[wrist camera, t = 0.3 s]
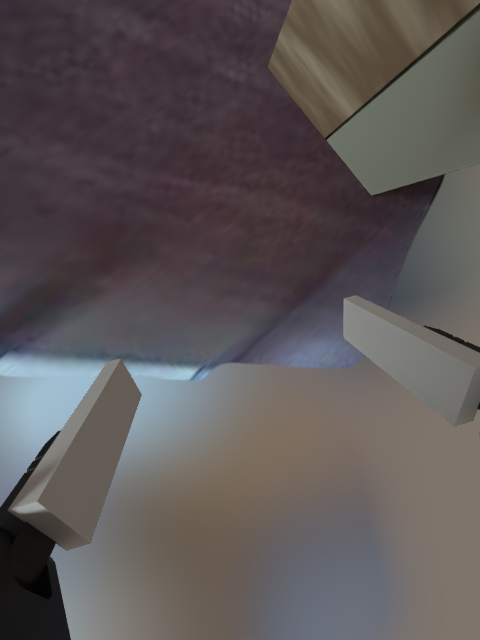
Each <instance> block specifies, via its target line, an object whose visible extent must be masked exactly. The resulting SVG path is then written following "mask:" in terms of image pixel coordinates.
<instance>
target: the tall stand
mask: <svg viewBox="0 0 480 640" xmlns="http://www.w3.org/2000/svg"><path fill="white" fill-rule="evenodd" d="M479 3H480V0H292V2H291V5H290V8H289V11H288V13H287V16H286V19H285V21H284V24H283V27H282V29H281V32H280V35H279V38H278V40H277V43H276V46H275V48H274V51H273V54H272V57H271V59H270V62H269V65H268V67H267V68H268V69H269V70H270V71H271V72H272V74H273V75H274V76H275V77H276V79H277V80H278V81H279V82H280V84H281V85H282V86H283V87H284V89H285V90H286V91H287V92H288V93H289V95H290V96H291V97H292V98H293V100H294V101H295V102H296V103H297V105H298V106H299V107H300V108H301V110H302V111H303V112H304V113H305V114H306V116H307V117H308V118H309V119H310V121H311V122H312V123H313V124H314V126H315V127H316V128H317V129H318V131H319V132H320V133H321V134H322V136H323V137H324V138H326V137H327V136H328V135H329V134H330V133H332V132H333V131H334V130H335V129H336V128H337V127H338V126H340V125H341V124H342V123H343V122H344V121H345V120H346V119H348V118H349V117H350V116H351V115H352V114H353V113H354V112H356V111H357V110H358V109H359V108H360V107H361V106H362V105H364V104H365V103H366V102H367V101H368V100H369V99H370V98H372V97H373V96H374V95H375V94H376V93H377V92H378V91H380V90H381V89H382V88H383V87H384V86H385V85H386V84H388V83H389V82H390V81H391V80H392V79H393V78H395V77H396V76H397V75H398V74H399V73H400V72H401V71H403V70H404V69H405V68H406V67H407V66H408V65H409V64H411V63H412V62H413V61H414V60H415V59H416V58H417V57H419V56H420V55H421V54H422V53H423V52H424V51H425V50H427V49H428V48H429V47H430V46H431V45H432V44H433V43H435V42H436V41H437V40H438V39H439V38H440V37H441V36H443V35H444V34H445V33H446V32H447V31H448V30H449V29H451V28H452V27H453V26H454V25H455V24H456V23H457V22H459V21H460V20H461V19H462V18H463V17H464V16H465V15H467V14H468V13H469V12H470V11H471V10H472V9H473V8H475V7H476V6H477V5H478V4H479Z"/></svg>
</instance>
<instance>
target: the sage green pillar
mask: <svg viewBox="0 0 480 640" xmlns="http://www.w3.org/2000/svg"><path fill="white" fill-rule="evenodd" d="M327 141H328V143H329V144H330V145H331V146H332V148H333V149H334V150H335V151H336V153H337V154H338V155H339V156H340V158H341V159H342V160H343V161H344V162H345V164H346V165H347V166H348V167H349V169H350V170H351V171H352V172H353V174H354V175H355V176H356V177H357V179H358V180H359V181H360V182H361V183H362V185H363V186H364V187H365V188H366V190H367V191H368V192H369V193H370V195H371V196H372V195H375V194H379V193H382V192H385V191H389V190H392V189H395V188H399V187H402V186H406V185H409V184H412V183H416V182H419V181H422V180H426V179H429V178H432V177H436V176H439V175H443V174H446V173H449V172H452V171H456V170H459V169H463V168H466V167H470V166H473V165H476V164H480V3H479V4H478V5H477V6H476V7H475V8H473V9H472V10H471V11H470V12H469V13H468V14H467V15H465V16H464V17H463V18H462V19H461V20H460V21H459V22H457V23H456V24H455V25H454V26H453V27H452V28H451V29H449V30H448V31H447V32H446V33H445V34H444V35H443V36H441V37H440V38H439V39H438V40H437V41H436V42H435V43H433V44H432V45H431V46H430V47H429V48H428V49H427V50H425V51H424V52H423V53H422V54H421V55H420V56H419V57H417V58H416V59H415V60H414V61H413V62H412V63H411V64H409V65H408V66H407V67H406V68H405V69H404V70H403V71H401V72H400V73H399V74H398V75H397V76H396V77H395V78H393V79H392V80H391V81H390V82H389V83H388V84H386V85H385V86H384V87H383V88H382V89H381V90H380V91H378V92H377V93H376V94H375V95H374V96H373V97H372V98H370V99H369V100H368V101H367V102H366V103H365V104H364V105H362V106H361V107H360V108H359V109H358V110H357V111H356V112H354V113H353V114H352V115H351V116H350V117H349V118H348V119H346V120H345V121H344V122H343V123H342V124H341V125H340V126H338V127H337V128H336V129H335V130H334V131H333V132H332V134H331V135H330V136H329V138H328V139H327Z"/></svg>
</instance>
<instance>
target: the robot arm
mask: <svg viewBox="0 0 480 640" xmlns="http://www.w3.org/2000/svg"><path fill="white" fill-rule="evenodd" d="M343 338H344V339H346V340H347V341H348V342H349V343H351V344H352V345H353V346H354V347H356V348H357V349H358V350H359V351H361V352H362V353H363V354H364V355H365V356H367V357H368V358H369V359H370V360H372V361H373V362H374V363H376V364H377V365H378V366H379V367H380V368H382V369H383V370H384V371H385V372H387V373H388V374H389V375H390V376H392V377H393V378H394V379H395V380H396V381H398V382H399V383H400V384H401V385H403V386H404V387H405V388H406V389H408V390H409V391H410V392H411V393H413V394H414V395H415V396H416V397H418V398H419V399H420V400H421V401H423V402H424V403H425V404H426V405H427V406H429V407H430V408H431V409H432V410H434V411H435V412H436V413H437V414H439V415H440V416H441V417H442V418H444V419H445V420H446V421H447V422H449V423H450V424H451V425H452V426H454V427H455V426H458V425H461V424H464V423H467V422H470V421H473V419H474V417H475V414H476V412H477V410H478V409H479V410H480V347H478V346H475V345H473V344H471V343H469V342H465V341H464V340H462V339H460V338H457V337H453V335H451V334H448V333H446V332H444V331H442V330H439V329H435V328H431V327H427V326H421V325H419V324H417V323H415V322H412V321H410V320H408V319H406V318H404V317H402V316H400V315H397V314H395V313H393V312H391V311H389V310H387V309H385V308H382V307H380V306H378V305H376V304H374V303H372V302H370V301H367V300H365V299H363V298H361V297H359V296H357V295H354V296H351V297H347V298H344V317H343ZM140 398H141V393H140V391H139V389H138V387H137V386H136V384H135V382H134V380H133V379H132V377H131V375H130V373H129V372H128V370H127V368H126V366H125V365H124V363H123V361H122V360H121V359H118V360H114V361H110V362H107V363H106V365H105V366H104V368H103V369H102V371H101V372H100V374H99V375H98V377H97V378H96V380H95V381H94V383H93V384H92V386H91V387H90V389H89V390H88V391H87V393H86V394H85V396H84V397H83V399H82V400H81V402H80V403H79V405H78V406H77V408H76V409H75V411H74V413H73V414H72V415H71V417H70V418H69V420H68V421H67V423H66V424H65V426H64V427H63V429H62V430H61V431H58V432H57V433H56V434H55V435H54V436H53V437H52V438H51V439H50V440H49V441H48V442H47V443H46V444H45V445H44V447H43V448H42V449H41V451H40V452H39V454H38V455H37V457H36V458H35V461H33V462H32V463H31V465H30V466H29V468H28V469H27V473H24V475H23V476H22V478H21V479H20V481H19V482H18V483H17V485H16V486H15V488H14V489H13V490H12V492H11V493H10V495H9V496H8V497H7V499H6V500H5V502H4V503H3V505H2V506H1V507H0V640H71V638H70V633H69V628H68V624H67V619H66V614H65V609H64V604H63V600H62V594H61V589H60V584H59V580H58V575H57V570H56V565H55V562H54V561H53V559H52V558H51V557H50V554H51V553H52V550H53V548H54V546H55V544H58V545H59V546H60V547H62V548H63V549H65V550H70V549H73V548H77V547H79V546H83V545H86V544H89V543H91V540H92V536H93V534H94V531H95V528H96V525H97V522H98V520H99V517H100V514H101V511H102V508H103V505H104V502H105V499H106V496H107V493H108V491H109V488H110V485H111V482H112V479H113V476H114V473H115V470H116V467H117V464H118V462H119V459H120V455H121V453H122V450H123V447H124V444H125V441H126V438H127V436H128V433H129V430H130V427H131V424H132V421H133V418H134V415H135V412H136V410H137V407H138V404H139V401H140Z"/></svg>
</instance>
